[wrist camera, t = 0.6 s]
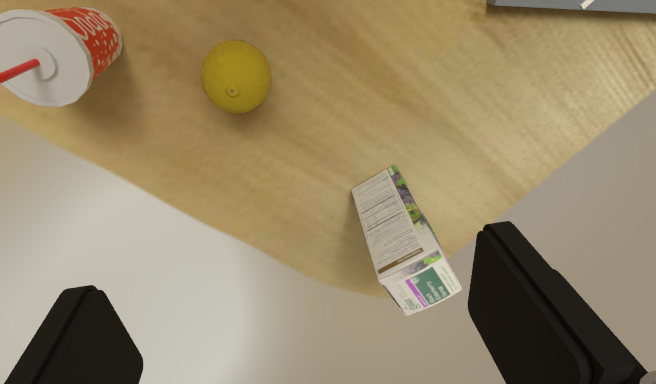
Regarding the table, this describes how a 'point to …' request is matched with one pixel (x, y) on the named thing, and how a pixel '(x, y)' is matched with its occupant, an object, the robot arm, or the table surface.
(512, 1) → the dial board
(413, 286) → the syrup box
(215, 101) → the lemon
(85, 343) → the robot arm
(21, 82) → the beverage cup
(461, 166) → the table surface
